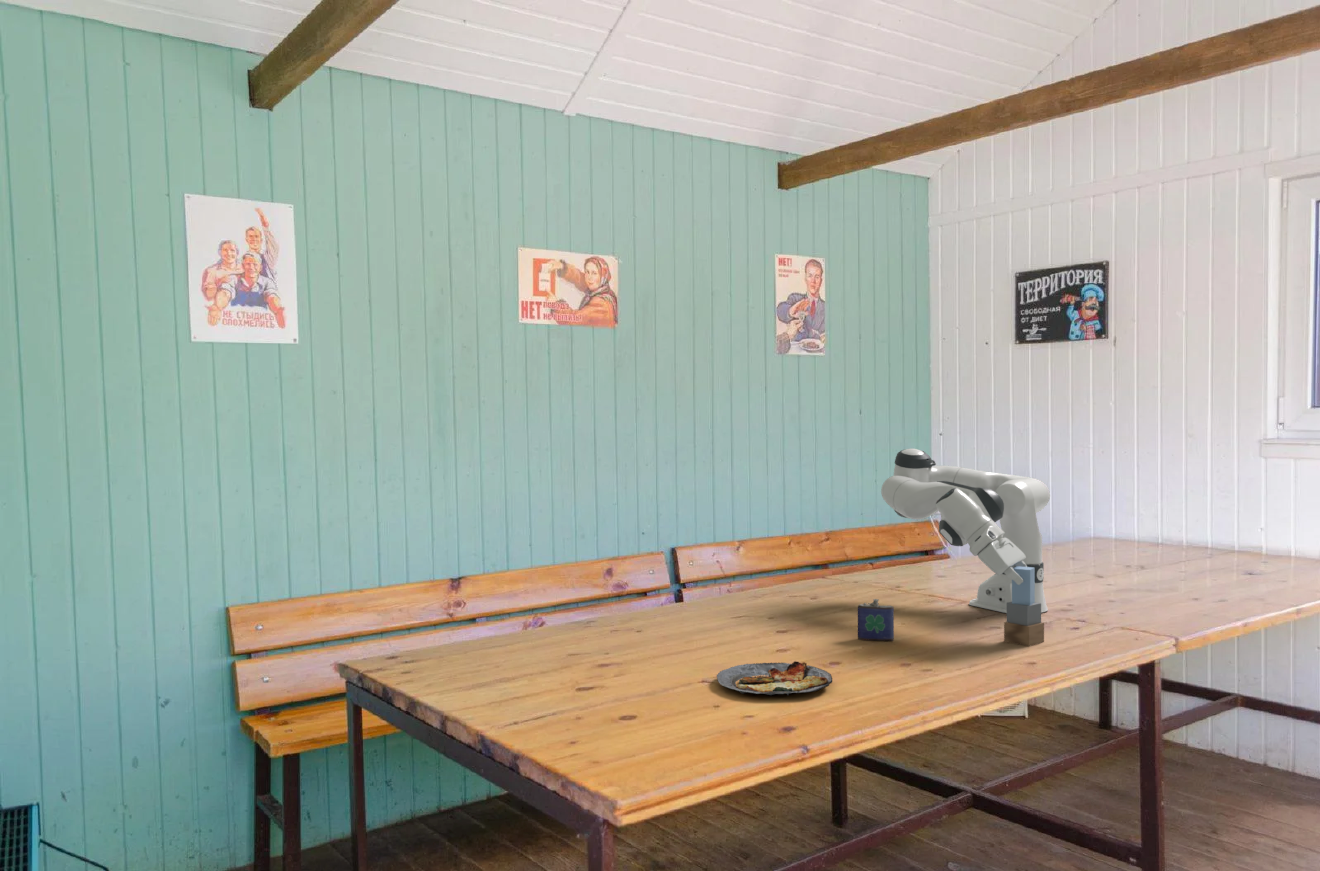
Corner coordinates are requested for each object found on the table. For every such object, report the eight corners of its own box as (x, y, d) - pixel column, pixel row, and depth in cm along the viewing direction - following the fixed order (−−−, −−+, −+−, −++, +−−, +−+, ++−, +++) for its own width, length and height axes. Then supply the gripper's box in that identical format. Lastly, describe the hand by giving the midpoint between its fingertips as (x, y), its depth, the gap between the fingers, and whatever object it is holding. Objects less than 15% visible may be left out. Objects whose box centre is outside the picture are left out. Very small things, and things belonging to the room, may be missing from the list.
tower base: (1004, 641, 250) (1004, 622, 249) (1019, 637, 254) (1019, 618, 254) (1029, 646, 244) (1029, 626, 244) (1044, 642, 248) (1044, 622, 248)
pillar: (1011, 603, 248) (1011, 568, 248) (1016, 600, 252) (1016, 566, 252) (1030, 605, 246) (1030, 569, 246) (1034, 602, 250) (1034, 567, 249)
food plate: (821, 669, 223) (820, 654, 223) (843, 700, 200) (843, 683, 200) (712, 674, 222) (712, 659, 222) (722, 706, 199) (722, 689, 199)
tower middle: (1006, 621, 250) (1006, 602, 250) (1020, 618, 253) (1020, 599, 253) (1027, 625, 245) (1027, 606, 245) (1041, 622, 248) (1041, 603, 248)
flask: (894, 639, 252) (893, 598, 252) (893, 642, 249) (893, 600, 249) (857, 637, 255) (857, 597, 254) (857, 640, 252) (856, 599, 252)
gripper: (989, 542, 263) (1027, 581, 258) (967, 552, 246) (1007, 594, 241) (1006, 527, 261) (1044, 566, 256) (985, 535, 244) (1026, 577, 239)
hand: (1026, 580), depth 248 cm, fingers open, 8 cm apart
